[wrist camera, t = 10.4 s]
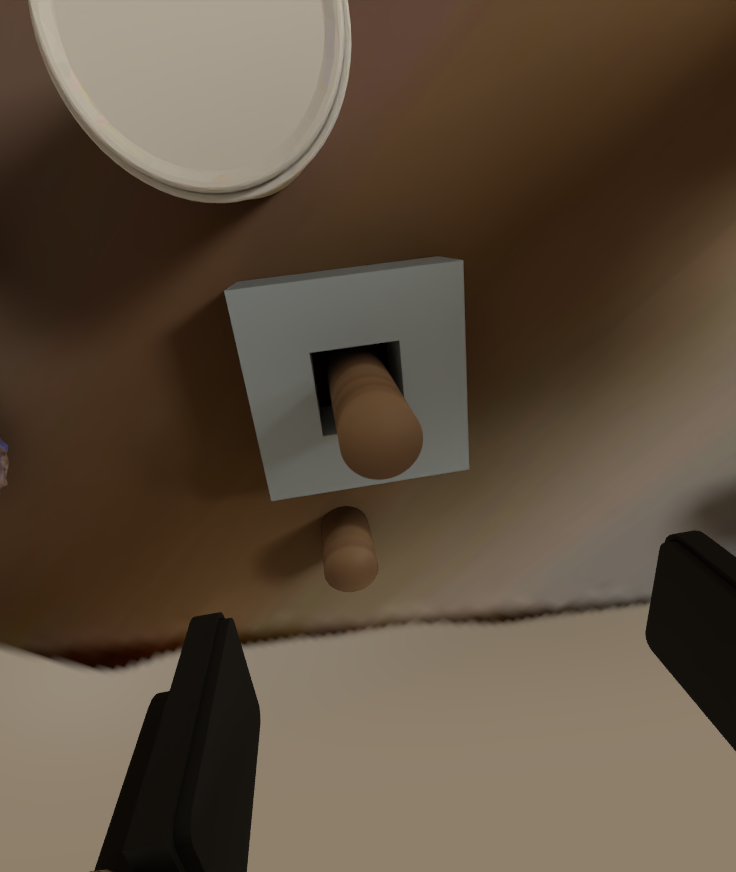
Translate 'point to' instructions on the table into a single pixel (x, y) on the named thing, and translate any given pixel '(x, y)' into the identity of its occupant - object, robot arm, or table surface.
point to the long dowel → (371, 415)
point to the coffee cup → (201, 86)
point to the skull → (3, 463)
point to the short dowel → (348, 550)
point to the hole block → (341, 328)
